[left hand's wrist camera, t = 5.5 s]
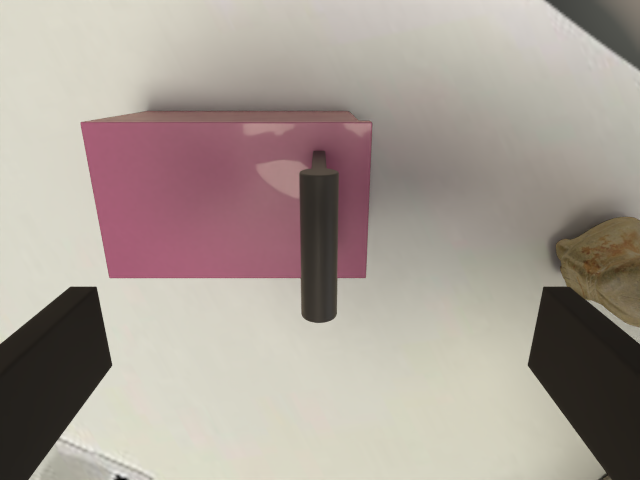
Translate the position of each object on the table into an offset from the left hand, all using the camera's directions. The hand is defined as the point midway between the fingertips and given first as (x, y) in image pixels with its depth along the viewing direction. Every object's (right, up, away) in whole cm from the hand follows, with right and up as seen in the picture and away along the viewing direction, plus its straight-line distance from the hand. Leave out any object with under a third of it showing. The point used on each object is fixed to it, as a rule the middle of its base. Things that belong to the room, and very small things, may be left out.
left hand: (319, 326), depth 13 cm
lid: (-5, +5, +13) cm, 15 cm away
